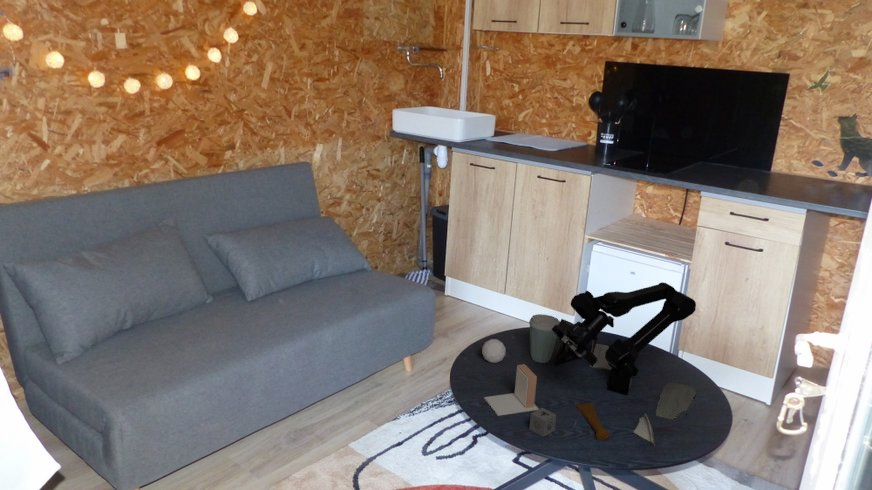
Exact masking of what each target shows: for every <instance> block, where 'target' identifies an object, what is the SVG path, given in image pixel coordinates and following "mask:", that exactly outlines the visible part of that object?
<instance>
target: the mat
mask: <svg viewBox="0 0 872 490" xmlns="http://www.w3.org/2000/svg"><path fill="white" fill-rule="evenodd" d="M514 394H515V392H513V393H506V394H498V395H489V396H484V397H483V398H484V399H483V400H484V401H485V402H486V403H487V404H488V405H489V407H490V406H491V409H492V410H493V412H494V411H495V412H494V413H495V414H496V416H498V417H499V416H506V415H512V414H518V413H526V412H532V411H533V412H534V411H537V410H538V409H539V407H538V406H537V405H536V404H535V403H534V407H532V408H525V406H524V405H523V404H522V403H521V402H520V401H519V400H518V398H517V397H516V396H515V395H514Z"/></svg>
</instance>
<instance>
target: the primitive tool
mask: <svg viewBox="0 0 872 490" xmlns="http://www.w3.org/2000/svg"><path fill="white" fill-rule="evenodd" d="M575 407H576V408H577V410H578V412H580V414H581V415H582V416H583V417H584V418H585V420H586V421H587V422H588V424H589V425H590V426H591V428H592V429H593V431H594V432H595V438H596V440H598V441H607V440H608V438H609V437H610V434H609V430H607V429H605V428H604V426H603V424H601V422H600V419H599V417H598V415H597V413H596V409H597V408H596V407H595V405H594V404H592V403H589V402H588V403H575Z"/></svg>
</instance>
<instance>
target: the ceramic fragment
mask: <svg viewBox="0 0 872 490" xmlns="http://www.w3.org/2000/svg"><path fill="white" fill-rule="evenodd" d="M632 433H633V434H634V435H636V436H637V437H639V438H641V439H642V440H644V441H646V442H648V443H650V444H651V445H653V446H654V447H655V445H656V444H655V435H654V430H653V427H652V424H651V421H650V419H649V416H648V415H647V413H644V414H643V416H641V417H639V420H638V423H637V425H636V428H635V429H634V430H633V431H632Z"/></svg>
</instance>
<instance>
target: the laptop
mask: <svg viewBox="0 0 872 490" xmlns="http://www.w3.org/2000/svg"><path fill="white" fill-rule="evenodd" d="M596 338H597V340H596V341H594V340H592V343H591V350H590V351H591V352H592V353H593V354H594V355H595V356H596V358H597V362H596V363H595V364H594V365H593V366H591V365H590V364H589V367H590V368H594V369H600V370H604V369H605V370H607V371H611V369H612V367H611V366H609V365H608V362H607V361H606V359H605V354H606V351H607V349H608V348H609V347H608V346H609V345H605V344H601V343H597V341H598V335H597V336H596Z"/></svg>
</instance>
